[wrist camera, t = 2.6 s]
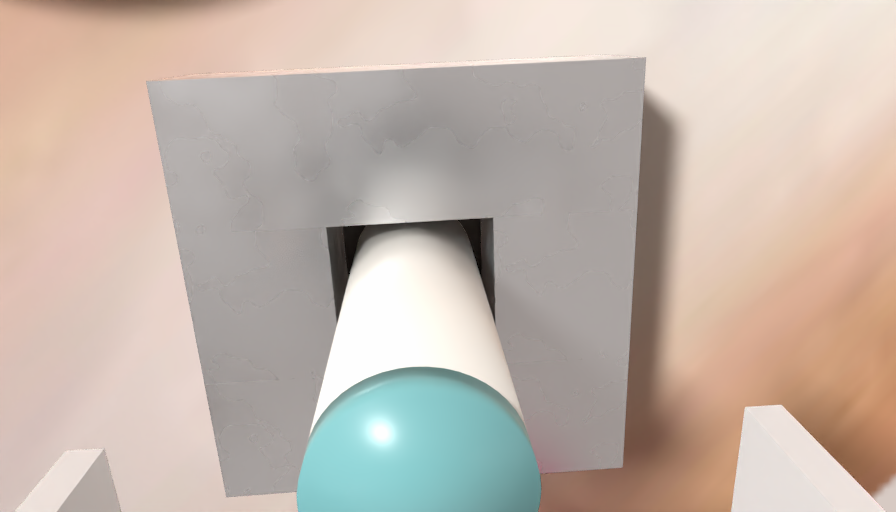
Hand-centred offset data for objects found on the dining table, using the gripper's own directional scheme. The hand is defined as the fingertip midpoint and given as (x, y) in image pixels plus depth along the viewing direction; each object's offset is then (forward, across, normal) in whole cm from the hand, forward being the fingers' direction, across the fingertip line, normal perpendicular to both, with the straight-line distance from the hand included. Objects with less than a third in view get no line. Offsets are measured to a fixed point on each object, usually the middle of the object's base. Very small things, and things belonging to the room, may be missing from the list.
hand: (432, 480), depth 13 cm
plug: (+15, 0, 0) cm, 15 cm away
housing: (+15, 0, 0) cm, 15 cm away
